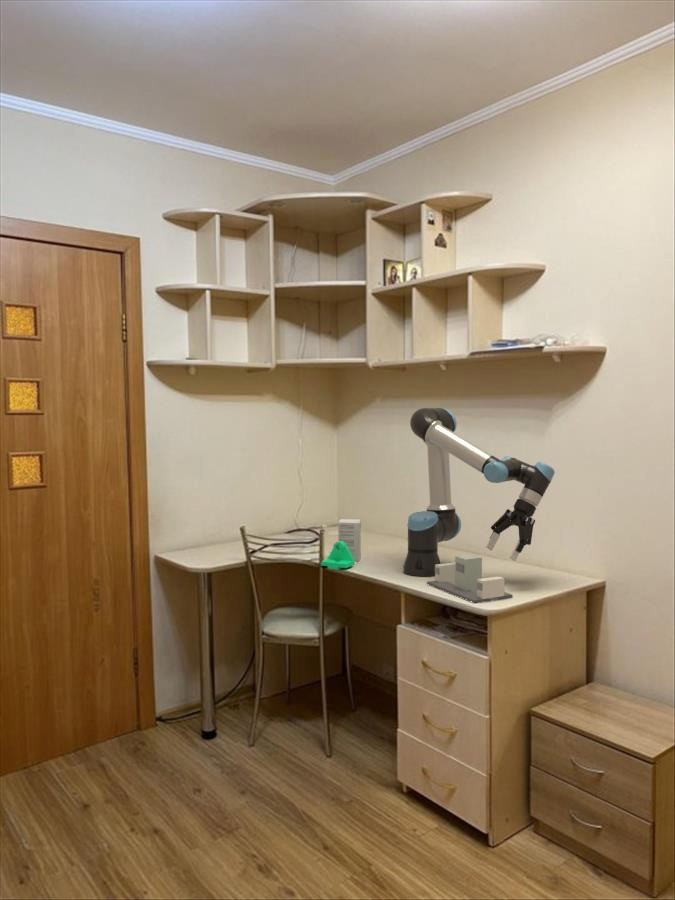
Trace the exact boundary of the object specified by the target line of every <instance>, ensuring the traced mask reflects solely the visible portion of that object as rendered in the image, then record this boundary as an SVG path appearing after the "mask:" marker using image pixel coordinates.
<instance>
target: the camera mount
mask: <svg viewBox="0 0 675 900" xmlns="http://www.w3.org/2000/svg"><path fill="white" fill-rule="evenodd" d="M339 546H340V547H339ZM321 561H322V560H321ZM321 561H320V565H321V566H325V567H327V569H331V570H340V569H342V568H343V569H348V568H350V567H352V566H355V563H356V562H355V560H354V558H353V557H352V555H351V553H350V551H349V549H348V547H347V545H346V543H345V542H343V541H339V542H338V541H337V542H335V543H334V544H333V548H332V550H331V552H329V555H328V557H327V558H325V559H323V561H322V562H321Z"/></svg>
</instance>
